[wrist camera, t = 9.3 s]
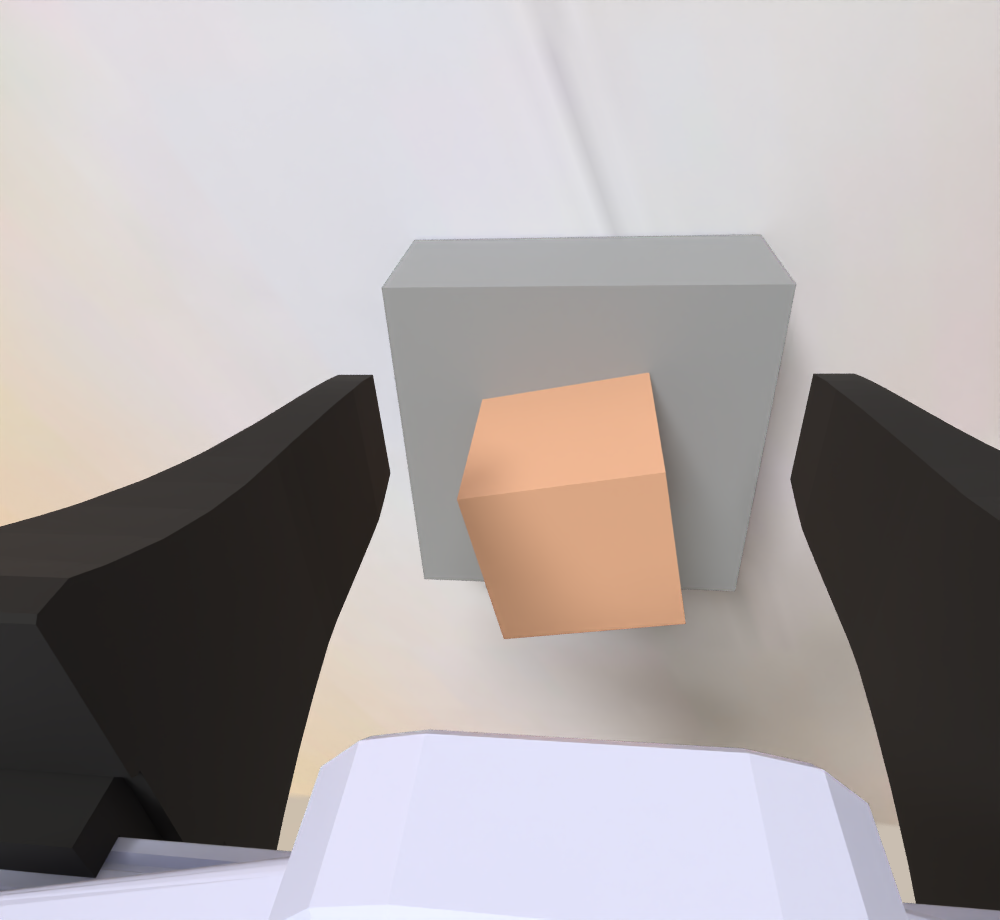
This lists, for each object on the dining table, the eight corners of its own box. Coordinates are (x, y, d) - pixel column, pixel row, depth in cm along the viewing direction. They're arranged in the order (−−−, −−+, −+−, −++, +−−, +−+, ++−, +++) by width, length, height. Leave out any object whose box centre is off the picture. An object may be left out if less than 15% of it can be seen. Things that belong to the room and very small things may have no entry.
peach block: (648, 372, 18) (665, 472, 14) (667, 508, 20) (685, 623, 17) (482, 399, 19) (456, 499, 15) (518, 526, 21) (503, 639, 18)
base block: (761, 234, 20) (796, 284, 16) (715, 512, 25) (734, 591, 22) (414, 240, 21) (381, 287, 17) (444, 505, 26) (424, 578, 23)
